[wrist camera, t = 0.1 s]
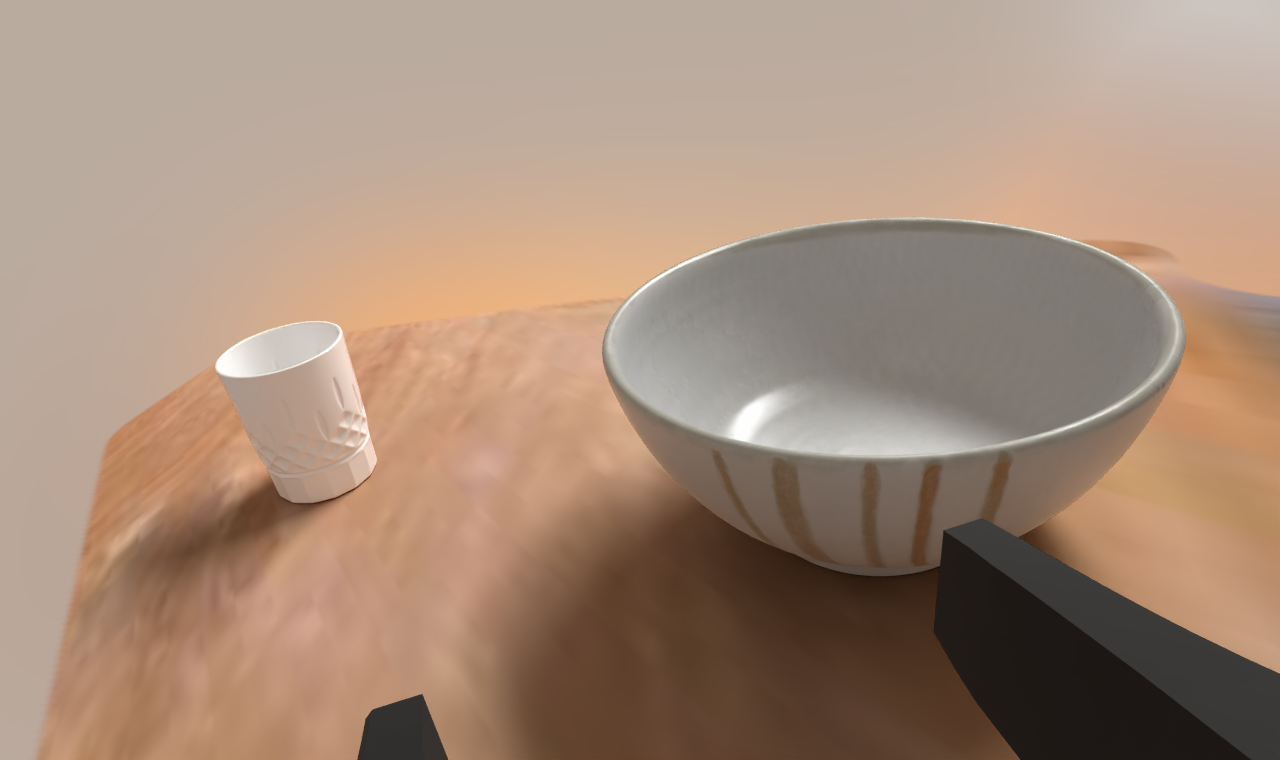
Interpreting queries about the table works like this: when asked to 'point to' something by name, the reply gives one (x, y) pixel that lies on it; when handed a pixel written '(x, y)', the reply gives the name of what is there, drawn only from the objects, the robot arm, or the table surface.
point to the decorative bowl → (892, 381)
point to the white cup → (301, 409)
